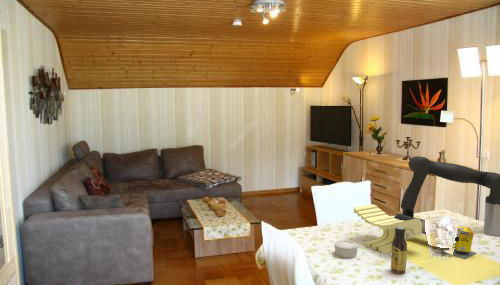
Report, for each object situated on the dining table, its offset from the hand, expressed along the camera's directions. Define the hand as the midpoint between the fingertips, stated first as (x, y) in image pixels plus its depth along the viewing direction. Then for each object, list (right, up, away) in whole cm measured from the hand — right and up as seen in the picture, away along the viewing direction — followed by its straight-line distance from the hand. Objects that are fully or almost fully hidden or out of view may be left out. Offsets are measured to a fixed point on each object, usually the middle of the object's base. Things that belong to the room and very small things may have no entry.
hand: (463, 237), depth 198 cm
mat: (-1, -8, +2) cm, 8 cm away
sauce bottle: (-37, -11, -17) cm, 42 cm away
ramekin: (-55, -9, +3) cm, 56 cm away
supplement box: (0, -7, +1) cm, 7 cm away
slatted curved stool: (-33, -8, +13) cm, 36 cm away
